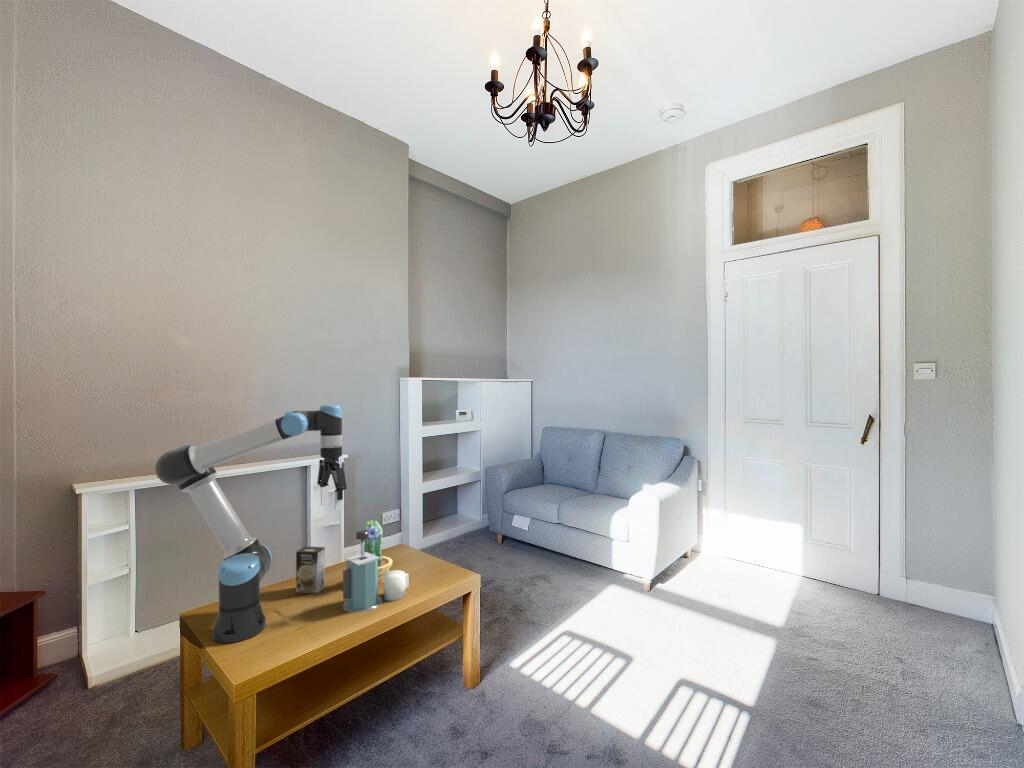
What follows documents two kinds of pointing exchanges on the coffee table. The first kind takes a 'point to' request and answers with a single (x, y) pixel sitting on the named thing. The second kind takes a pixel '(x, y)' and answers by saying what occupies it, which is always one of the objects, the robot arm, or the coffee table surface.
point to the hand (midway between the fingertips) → (331, 506)
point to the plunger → (362, 540)
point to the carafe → (361, 581)
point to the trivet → (363, 609)
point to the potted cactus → (376, 547)
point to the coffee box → (310, 569)
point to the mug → (395, 585)
